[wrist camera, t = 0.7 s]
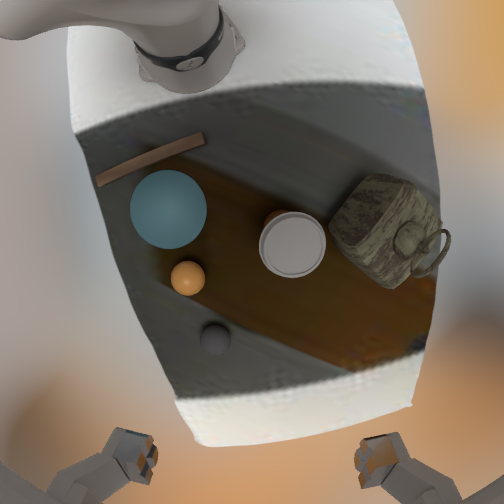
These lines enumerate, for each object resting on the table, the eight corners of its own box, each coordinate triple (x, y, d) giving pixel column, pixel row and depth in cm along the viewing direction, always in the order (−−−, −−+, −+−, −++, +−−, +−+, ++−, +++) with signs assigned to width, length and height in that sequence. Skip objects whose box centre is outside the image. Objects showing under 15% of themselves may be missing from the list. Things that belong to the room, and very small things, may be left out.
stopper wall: (101, 175, 43) (95, 176, 41) (203, 133, 42) (201, 131, 40) (104, 185, 44) (98, 186, 41) (206, 144, 43) (204, 143, 41)
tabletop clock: (346, 255, 51) (417, 326, 27) (312, 226, 49) (376, 288, 25) (391, 197, 48) (485, 232, 24) (360, 166, 45) (455, 179, 22)
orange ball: (169, 261, 49) (162, 274, 43) (199, 252, 49) (195, 264, 43) (181, 289, 51) (175, 305, 45) (211, 281, 51) (208, 296, 45)
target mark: (120, 186, 44) (119, 186, 44) (192, 158, 44) (191, 158, 43) (146, 257, 49) (146, 258, 48) (217, 235, 48) (217, 235, 48)
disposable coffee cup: (291, 190, 46) (309, 200, 35) (316, 236, 49) (338, 259, 38) (243, 218, 47) (246, 236, 36) (270, 262, 50) (280, 292, 39)
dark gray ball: (197, 323, 54) (193, 341, 48) (225, 316, 53) (224, 333, 48) (207, 345, 56) (205, 364, 50) (234, 339, 55) (234, 357, 50)
